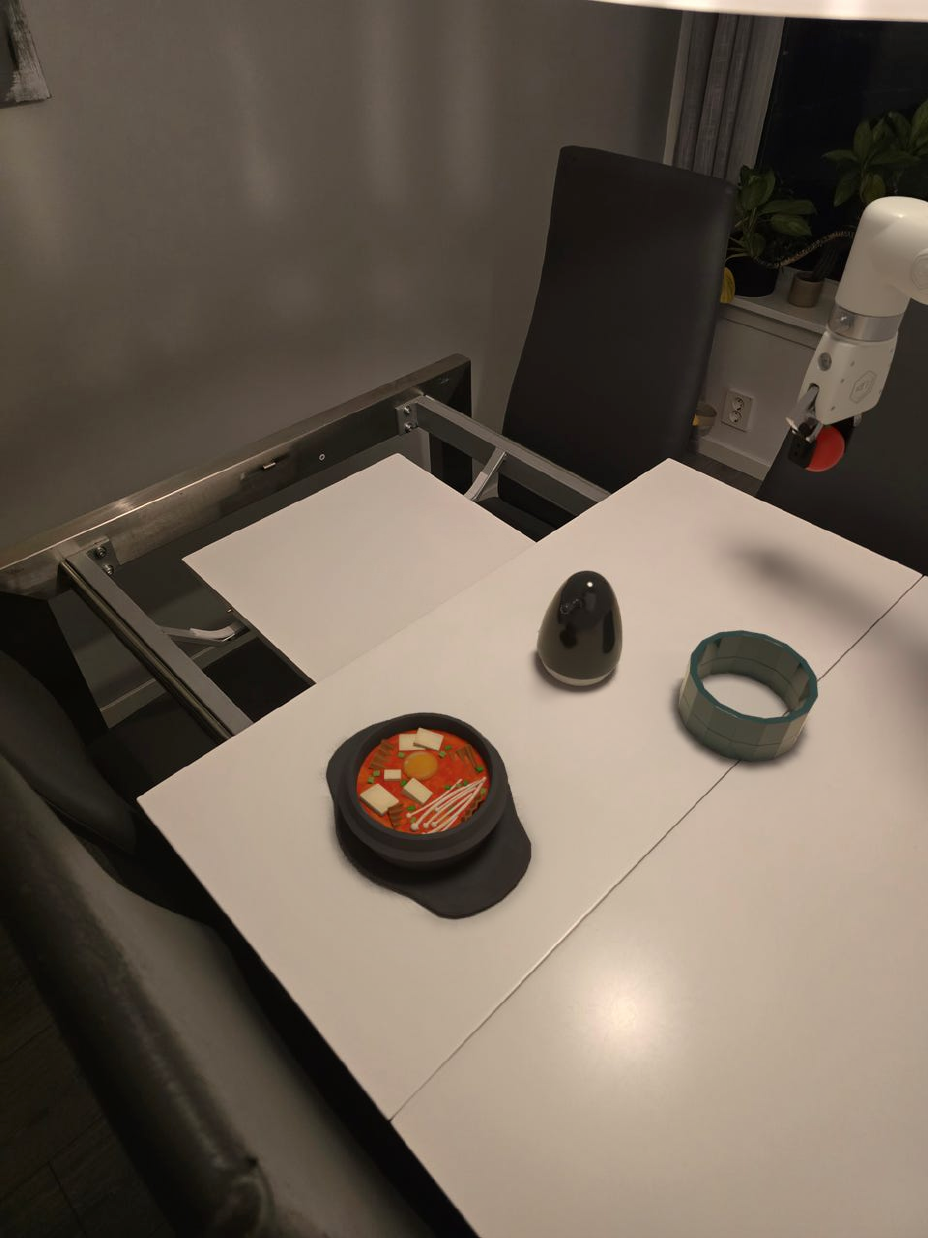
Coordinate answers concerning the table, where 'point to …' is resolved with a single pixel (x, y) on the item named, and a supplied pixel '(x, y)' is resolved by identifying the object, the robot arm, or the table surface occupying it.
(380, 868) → the casserole
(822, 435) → the tomato
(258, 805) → the table surface
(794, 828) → the table surface
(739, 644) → the green cylindrical ring
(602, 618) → the black egg shape
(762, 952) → the table surface
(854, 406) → the robot arm
